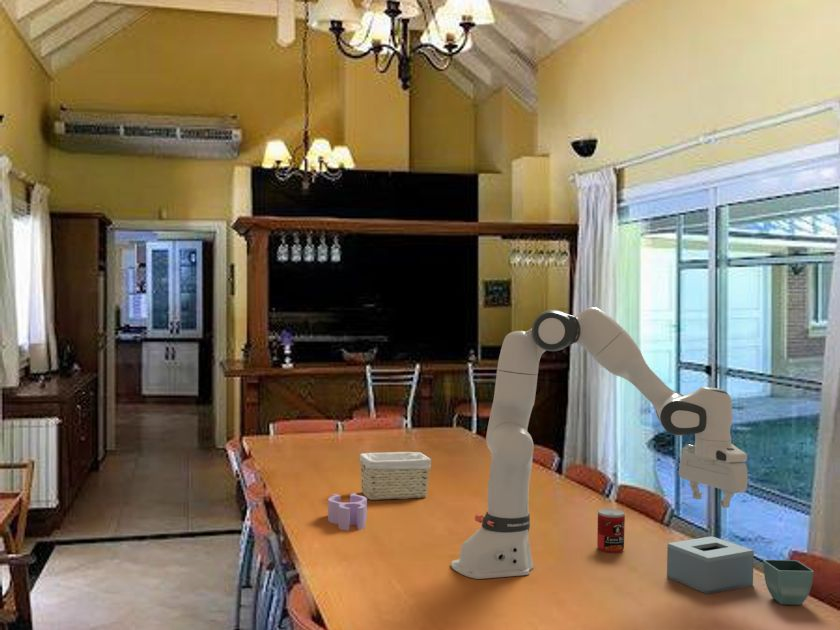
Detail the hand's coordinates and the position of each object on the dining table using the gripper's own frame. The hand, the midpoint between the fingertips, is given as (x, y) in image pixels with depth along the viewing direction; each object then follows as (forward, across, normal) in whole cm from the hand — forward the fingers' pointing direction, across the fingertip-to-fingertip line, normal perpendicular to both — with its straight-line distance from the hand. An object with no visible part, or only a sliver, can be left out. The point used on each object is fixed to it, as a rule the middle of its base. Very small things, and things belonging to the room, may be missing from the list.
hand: (710, 502), depth 220 cm
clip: (+22, -92, -63) cm, 113 cm away
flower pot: (+20, +19, +6) cm, 29 cm away
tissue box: (+20, 0, 0) cm, 21 cm away
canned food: (+21, -33, -5) cm, 39 cm away
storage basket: (+22, -119, -34) cm, 125 cm away
